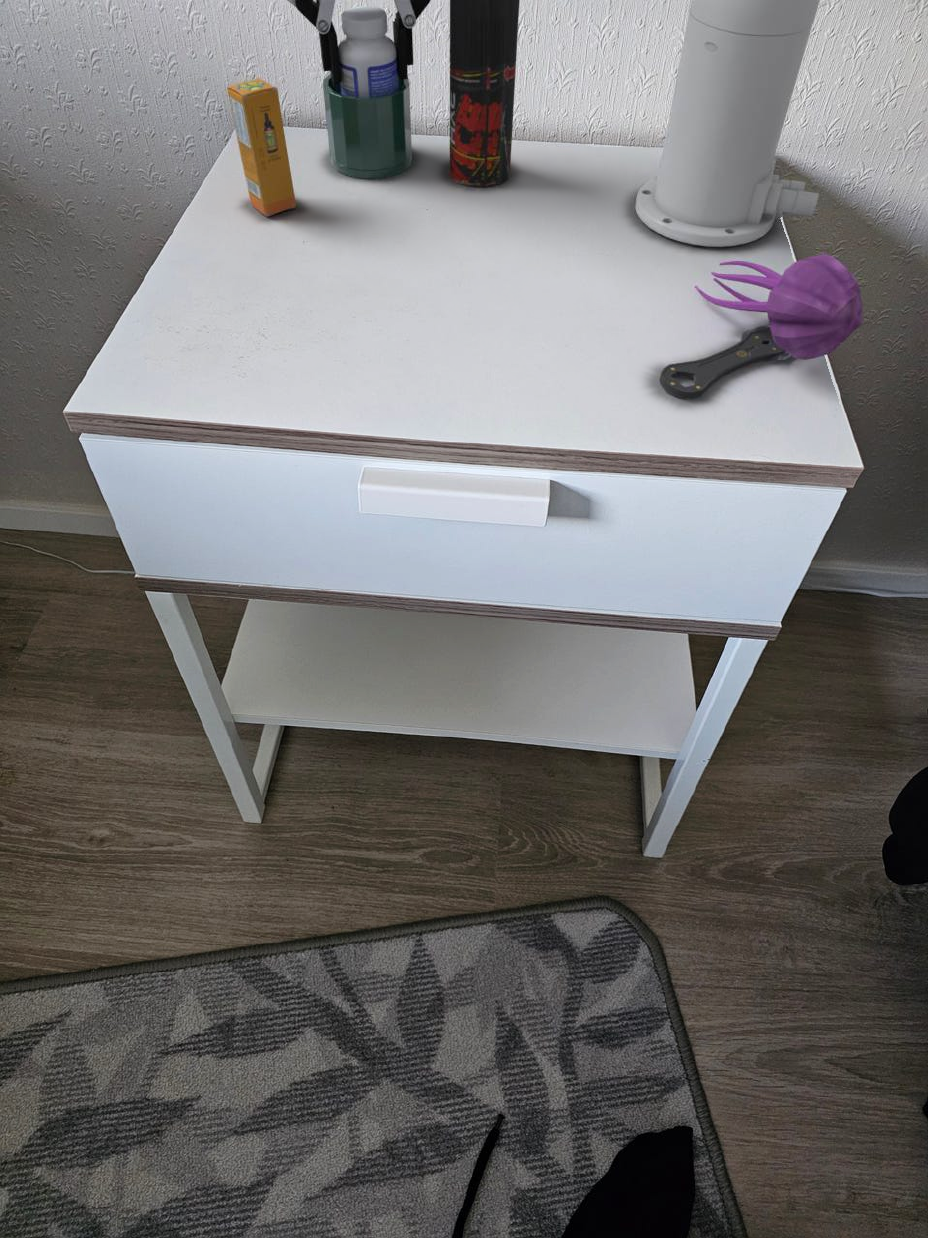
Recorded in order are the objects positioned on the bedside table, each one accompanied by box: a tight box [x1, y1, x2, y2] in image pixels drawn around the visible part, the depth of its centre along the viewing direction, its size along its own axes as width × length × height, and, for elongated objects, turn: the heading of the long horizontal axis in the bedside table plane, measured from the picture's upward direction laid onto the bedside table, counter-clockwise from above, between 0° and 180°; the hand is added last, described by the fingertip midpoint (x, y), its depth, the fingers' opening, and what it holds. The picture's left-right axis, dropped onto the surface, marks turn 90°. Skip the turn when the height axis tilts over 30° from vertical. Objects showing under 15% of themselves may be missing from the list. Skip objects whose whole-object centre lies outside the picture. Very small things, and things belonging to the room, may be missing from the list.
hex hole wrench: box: [659, 323, 792, 400], centre depth 65 cm, size 4×20×1 cm, turn 125°
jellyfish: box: [694, 253, 863, 361], centre depth 63 cm, size 7×7×15 cm
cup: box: [322, 73, 413, 180], centre depth 81 cm, size 8×8×7 cm
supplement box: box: [226, 77, 297, 218], centre depth 74 cm, size 3×3×10 cm
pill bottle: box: [338, 5, 399, 97], centre depth 78 cm, size 5×5×10 cm
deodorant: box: [449, 0, 520, 188], centre depth 77 cm, size 6×6×15 cm
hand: (368, 74), depth 78 cm, fingers closed on pill bottle, 5 cm apart
